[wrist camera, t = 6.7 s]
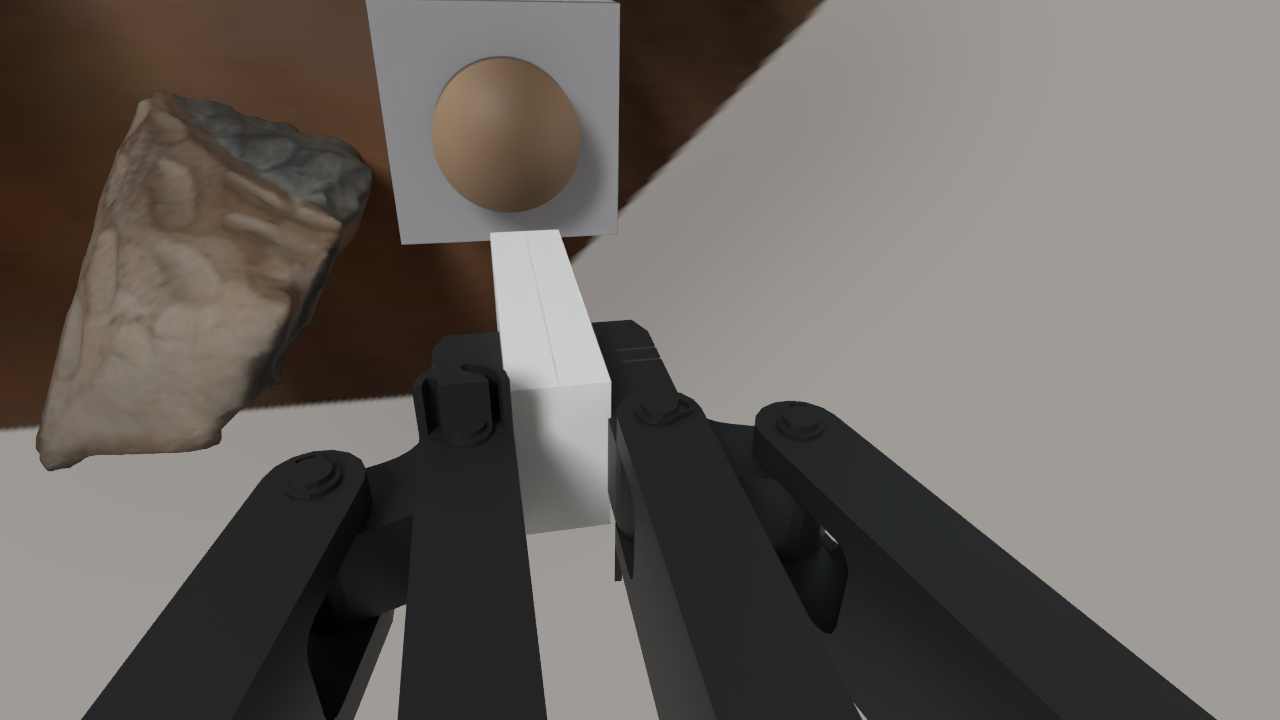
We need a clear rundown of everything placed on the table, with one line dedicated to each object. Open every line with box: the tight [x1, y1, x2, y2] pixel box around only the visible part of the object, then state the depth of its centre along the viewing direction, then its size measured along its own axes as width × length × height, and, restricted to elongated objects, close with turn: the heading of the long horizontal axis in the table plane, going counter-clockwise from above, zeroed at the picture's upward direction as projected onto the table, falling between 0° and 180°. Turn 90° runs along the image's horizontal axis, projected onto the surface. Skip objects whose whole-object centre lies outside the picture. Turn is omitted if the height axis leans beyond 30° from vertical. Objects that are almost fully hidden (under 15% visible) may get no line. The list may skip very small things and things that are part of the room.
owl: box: [36, 92, 373, 471], centre depth 36 cm, size 13×13×20 cm
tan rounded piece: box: [432, 56, 581, 213], centre depth 36 cm, size 7×7×16 cm
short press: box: [366, 0, 620, 245], centre depth 37 cm, size 10×10×15 cm
